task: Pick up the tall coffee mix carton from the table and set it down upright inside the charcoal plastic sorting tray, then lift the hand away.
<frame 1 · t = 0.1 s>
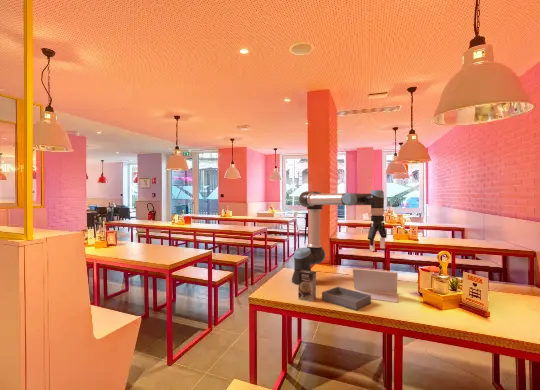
hand: (377, 249, 171), 28 cm above the table, tool pointing down, fingers open, 13 cm apart
sorting tray: (346, 301, 159), on the table
coffee box: (307, 299, 164), on the table
tablet stand: (374, 295, 171), on the table
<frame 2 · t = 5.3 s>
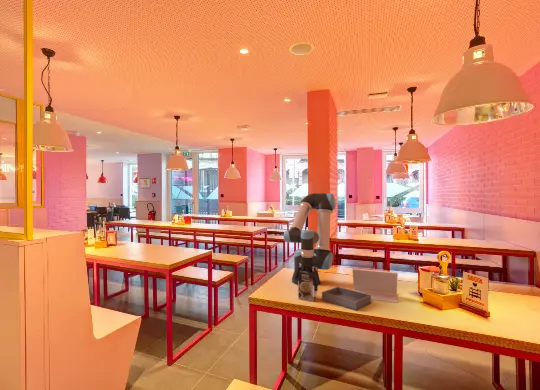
hand: (307, 293, 164), 3 cm above the table, tool pointing down, fingers closed on coffee box, 10 cm apart
coffee box: (307, 299, 164), on the table, touching gripper
when the fingers open (5 cm above the table, at t = 12.5 s): coffee box drops 1 cm, resting on sorting tray.
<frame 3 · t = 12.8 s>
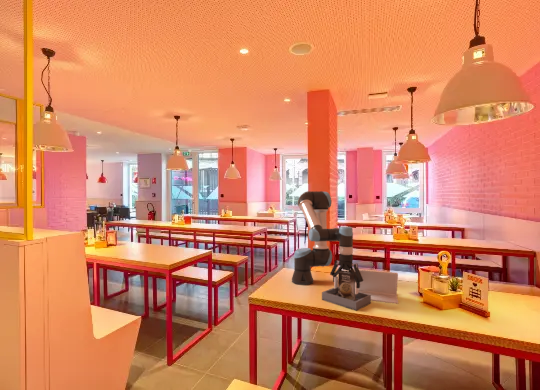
hand: (346, 290, 160), 6 cm above the table, tool pointing down, fingers open, 13 cm apart
coffee box: (347, 300, 159), point 1 cm above the table, touching sorting tray
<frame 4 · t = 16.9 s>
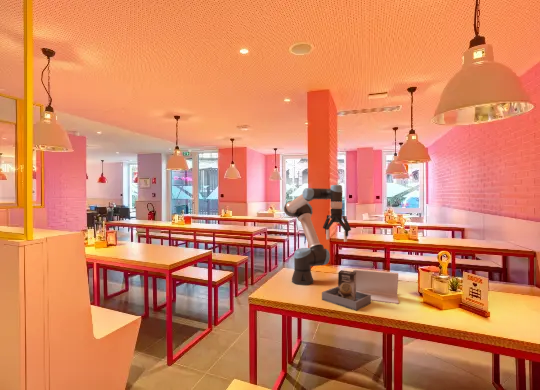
hand: (336, 240, 183), 32 cm above the table, tool pointing down, fingers open, 13 cm apart
at the end: coffee box inside the target area on the sorting tray (0.8 cm from its centre), point 0.8 cm above the sorting tray's base; coffee box tilted 0°; the gripper is holding nothing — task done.
